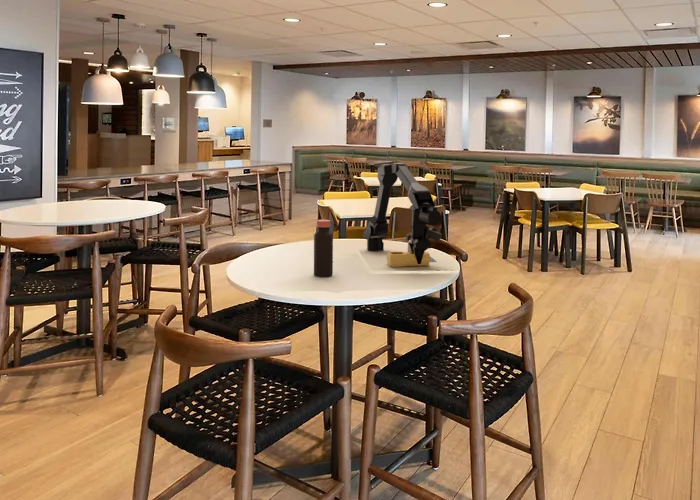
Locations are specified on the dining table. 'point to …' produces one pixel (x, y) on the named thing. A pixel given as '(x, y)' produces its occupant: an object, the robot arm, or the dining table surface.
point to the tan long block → (406, 259)
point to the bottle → (323, 250)
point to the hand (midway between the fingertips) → (417, 262)
